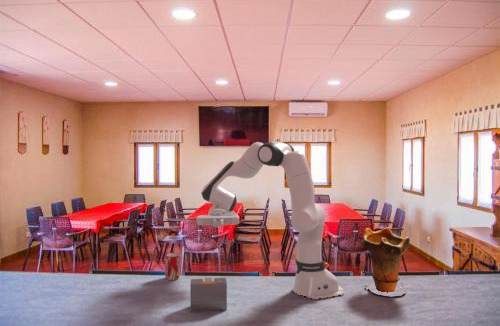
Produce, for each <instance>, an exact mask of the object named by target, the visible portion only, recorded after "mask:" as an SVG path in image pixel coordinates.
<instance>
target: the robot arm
mask: <svg viewBox="0 0 500 326" xmlns="http://www.w3.org/2000/svg"><path fill="white" fill-rule="evenodd" d="M263 166H267V167H281V168H283V170H284V173H285V176H286V181H287V185H288V189H289V194H290V201H291V216H290V223H291V227H292V228H293V230H295V231H297V232H298V235H297V240H296V258H295V263H294V271H295V277H294V283H293V286H292V292H293V291H294V292H295V293H294V292H293V293H294V294H296V293H297V294H296V295H298V294H299V295H298V296H300V295H303V296H302V297H304V296H307V297H306V298H309V299H311V298H312V299H311V300H319V298H321V299H326V298H327V297H328V298H333V297H332V296H335V297H339V296H338V295H341V296H343V295H344V289H343V288H342V287H341V286H340V285H339V282H338V279H337V277H336V275H334V274H333V273H332V272H331V271H329V270H328V268H329V267H330V264H329V263H328V262H326V261H324V260H323V259H322V242H323V237H324V236H323V235H324V229H325V221H326V220H325V219H326V217H327V215H326V214H327V213H326V209H325V208H324V206H322V204H321V205H320V204H318V203H316V201H315V185H314V180H313V176H312V173H311V169H310V166H309V163H308V160H307V158H306V156H305V154H304V153H303V152H301V151H299V150H295V149H294V147H293V145H292V144H290V143H288V142H284V141H283V142H281V141H271V142H270V141H268V142H265V143H263V142H260V141H256V142H253V143H252V144H251V145H250V146H249V147H248V148H247V149H246V150H245V151H244V153H243V154H242V156H241V157H240V158H239V159H237V160H235V161H229V162H228V163H227V164H226V165H224V166H223V168H222V169H221V170H219V172H218V173H217V174H216V175H215V176H214V177H213V178H212V179H211V180H210V181H208V182H207V183H206V184H205V185H204V186H203V188H202V190H201V197H202V199H203V200H204V201H206V202H208V203H210V204H212V206H211V207H210V208H209V210H208V214H202V215H198V216H196V219H195V220H196V225H197V226H212V227H215V228H220V227H223V226H229V225H233V226H234V225H239V224H240V216H239V215H238V214H237V213H236V212H235V210H234V209H235V207H236V206H237V197H236V195H235V194H234V193H233V192H230V191H229V190H227V189H225V188H223V187H222V186H220V184H221V183H222V182H223V181H224V180H225V179H226V178H229V177H235V178H236V177H237V178H241V179H252V178H254V177H255V176H256V175H257V174H258V173H259V172H260V170H262V167H263Z"/></svg>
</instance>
